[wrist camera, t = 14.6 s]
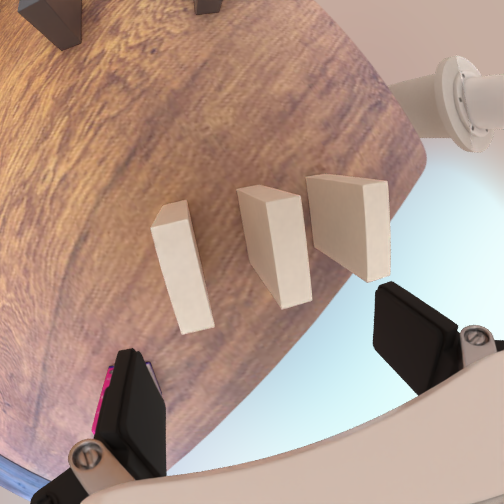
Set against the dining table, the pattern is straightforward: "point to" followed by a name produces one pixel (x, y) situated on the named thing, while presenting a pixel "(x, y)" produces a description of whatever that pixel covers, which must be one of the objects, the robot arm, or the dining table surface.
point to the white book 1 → (182, 267)
